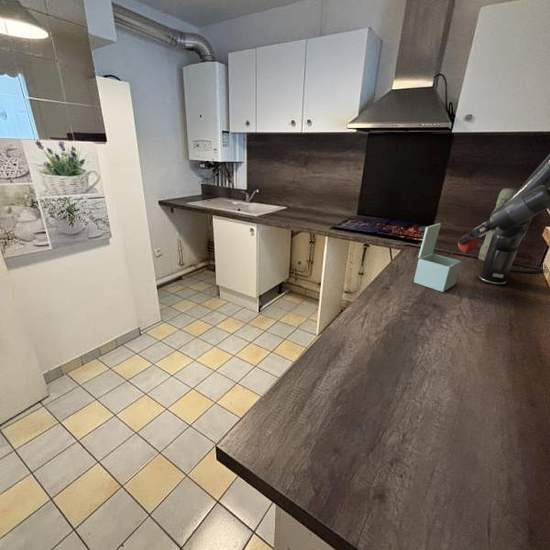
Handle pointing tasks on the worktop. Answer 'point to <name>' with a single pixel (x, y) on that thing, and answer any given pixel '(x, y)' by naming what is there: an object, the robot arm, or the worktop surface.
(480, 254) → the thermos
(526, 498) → the worktop surface
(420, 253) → the lid
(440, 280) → the light blue lidded box
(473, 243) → the onion
